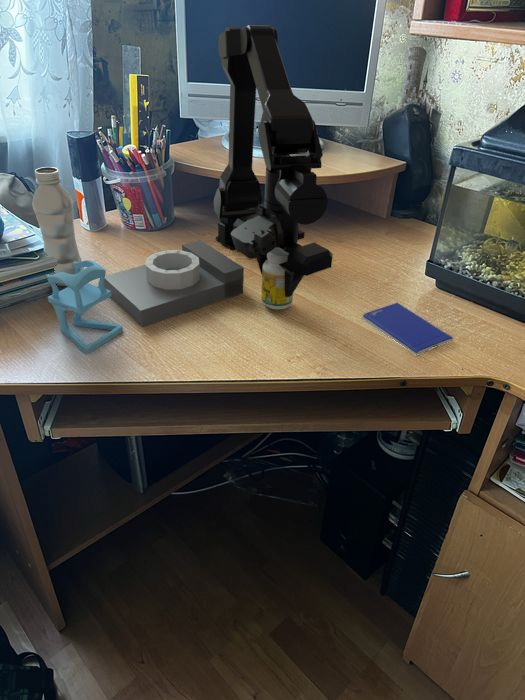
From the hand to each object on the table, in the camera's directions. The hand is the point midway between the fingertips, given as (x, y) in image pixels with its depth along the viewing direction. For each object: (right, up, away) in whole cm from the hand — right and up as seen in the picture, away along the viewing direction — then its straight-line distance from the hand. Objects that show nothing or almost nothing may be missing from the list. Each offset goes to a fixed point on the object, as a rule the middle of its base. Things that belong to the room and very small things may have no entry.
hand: (277, 289), depth 93 cm
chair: (-30, -8, -7) cm, 32 cm away
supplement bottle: (0, -2, +2) cm, 3 cm away
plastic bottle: (-38, +2, +6) cm, 38 cm away
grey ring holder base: (-18, 0, +4) cm, 19 cm away
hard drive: (+21, -8, -2) cm, 23 cm away
